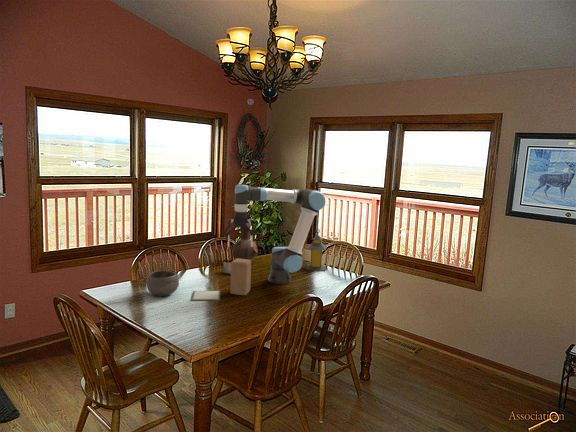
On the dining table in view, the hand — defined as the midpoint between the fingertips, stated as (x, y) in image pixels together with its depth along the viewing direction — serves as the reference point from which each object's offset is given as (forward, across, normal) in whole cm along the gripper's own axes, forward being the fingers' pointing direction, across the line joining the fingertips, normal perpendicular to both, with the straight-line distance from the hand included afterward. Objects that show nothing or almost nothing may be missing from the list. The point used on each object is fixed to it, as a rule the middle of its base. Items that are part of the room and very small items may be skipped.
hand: (240, 246), depth 251 cm
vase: (+29, -6, -71) cm, 77 cm away
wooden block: (+29, -1, +1) cm, 29 cm away
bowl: (+28, +44, +4) cm, 53 cm away
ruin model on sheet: (+29, +4, -41) cm, 51 cm away
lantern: (+29, -59, -56) cm, 86 cm away
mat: (+28, +19, +7) cm, 35 cm away
